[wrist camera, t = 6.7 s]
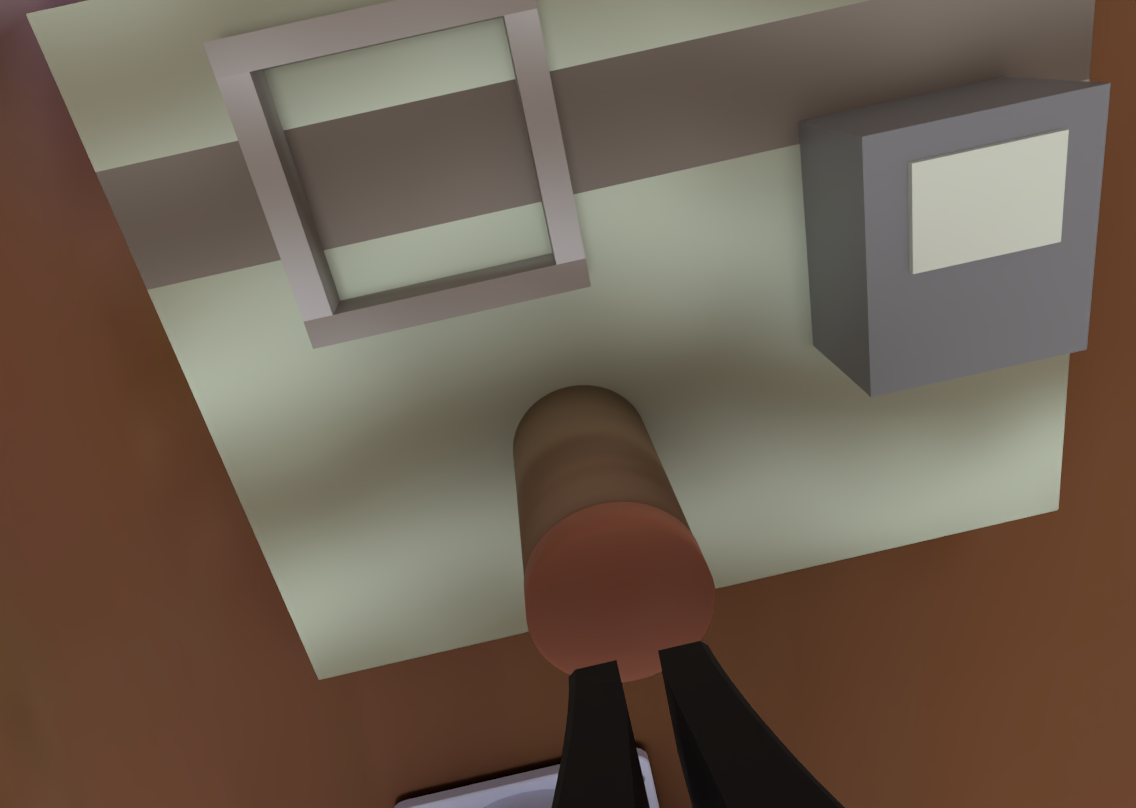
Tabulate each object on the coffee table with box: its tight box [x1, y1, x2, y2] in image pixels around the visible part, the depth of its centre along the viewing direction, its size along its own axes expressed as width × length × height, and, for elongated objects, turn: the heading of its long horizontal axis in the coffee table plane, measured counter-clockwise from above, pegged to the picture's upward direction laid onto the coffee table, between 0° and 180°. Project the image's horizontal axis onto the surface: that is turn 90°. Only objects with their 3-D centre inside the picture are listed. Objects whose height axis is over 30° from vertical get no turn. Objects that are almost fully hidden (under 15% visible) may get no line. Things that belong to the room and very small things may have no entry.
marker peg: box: [513, 385, 716, 682], centre depth 16 cm, size 3×3×6 cm
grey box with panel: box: [798, 77, 1111, 397], centre depth 16 cm, size 5×4×3 cm
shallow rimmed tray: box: [26, 0, 1095, 680], centre depth 18 cm, size 16×20×2 cm
